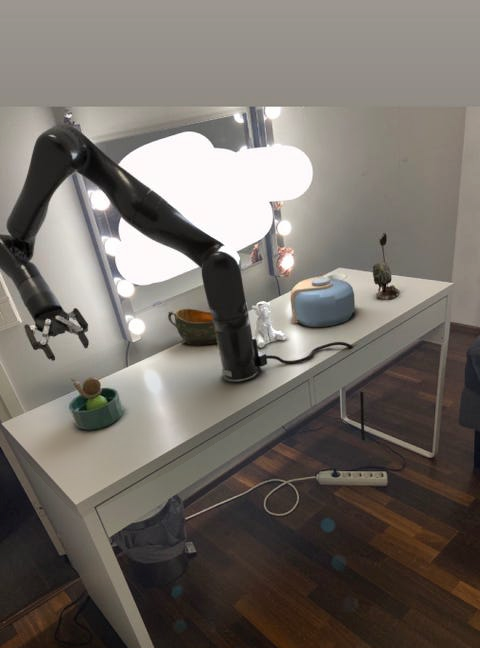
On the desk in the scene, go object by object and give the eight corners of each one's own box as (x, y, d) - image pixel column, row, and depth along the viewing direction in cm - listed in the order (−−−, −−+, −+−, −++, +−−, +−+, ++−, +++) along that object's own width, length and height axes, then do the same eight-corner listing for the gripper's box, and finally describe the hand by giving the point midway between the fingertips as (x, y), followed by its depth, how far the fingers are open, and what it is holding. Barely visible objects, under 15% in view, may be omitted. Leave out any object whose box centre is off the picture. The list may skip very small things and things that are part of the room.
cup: (201, 327, 170) (195, 299, 165) (239, 338, 156) (233, 307, 151) (171, 341, 164) (164, 312, 159) (207, 353, 150) (200, 321, 145)
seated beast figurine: (259, 349, 146) (253, 310, 140) (246, 341, 153) (240, 304, 147) (287, 339, 149) (282, 301, 143) (273, 332, 156) (268, 295, 149)
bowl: (113, 401, 133) (106, 383, 130) (131, 416, 124) (125, 397, 121) (70, 420, 127) (62, 401, 125) (86, 437, 118) (78, 417, 116)
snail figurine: (83, 418, 126) (67, 376, 120) (105, 407, 129) (90, 366, 123) (92, 424, 122) (76, 381, 116) (115, 413, 125) (100, 371, 119)
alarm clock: (316, 303, 172) (313, 268, 165) (366, 309, 158) (365, 272, 152) (281, 323, 161) (276, 286, 155) (332, 331, 148) (329, 292, 142)
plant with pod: (365, 300, 167) (363, 238, 156) (386, 289, 172) (385, 229, 162) (385, 303, 161) (384, 239, 150) (406, 292, 166) (406, 230, 156)
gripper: (10, 300, 117) (41, 355, 115) (66, 282, 123) (97, 334, 121) (13, 317, 124) (43, 370, 121) (67, 300, 130) (96, 350, 127)
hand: (70, 352), depth 121 cm, fingers open, 8 cm apart
